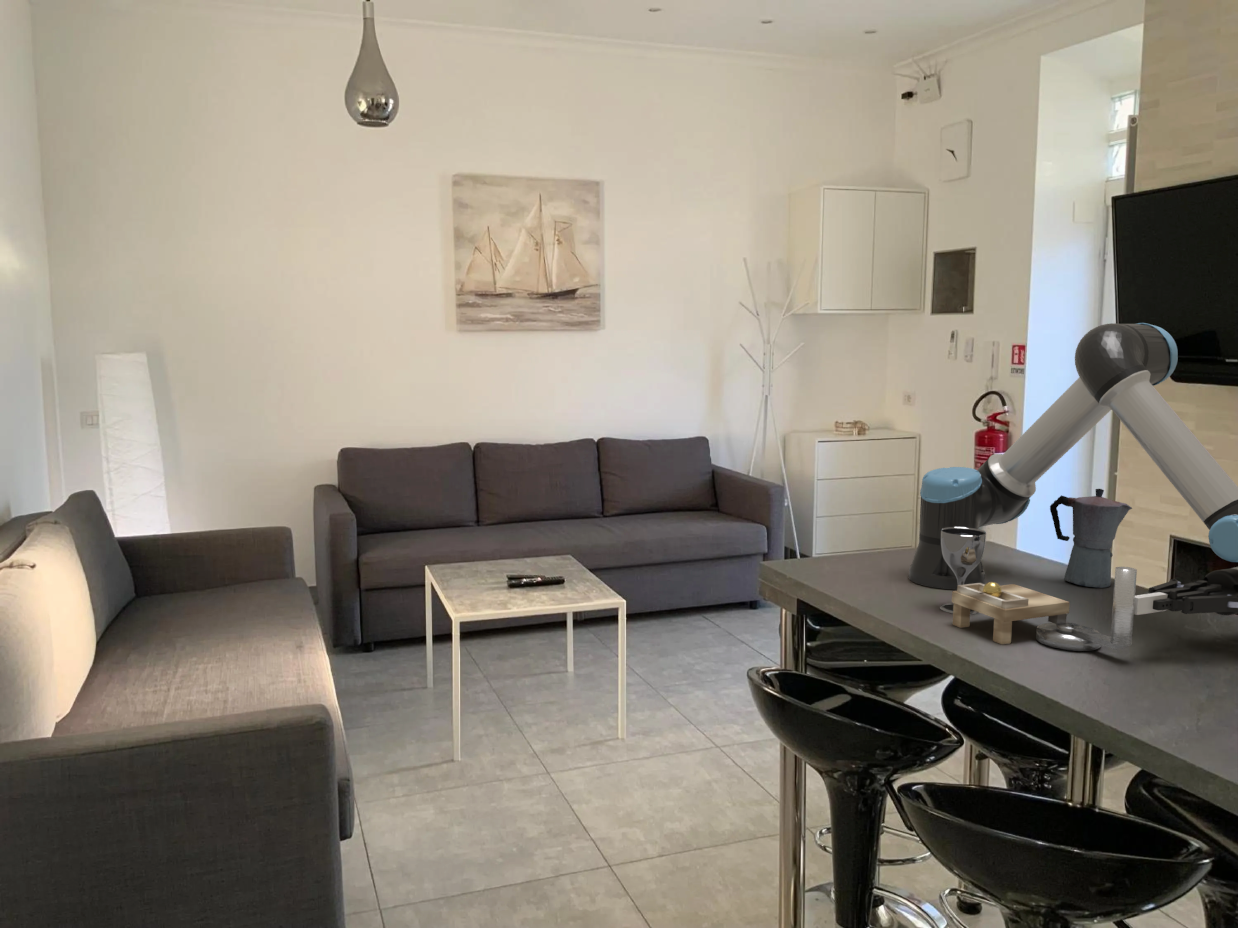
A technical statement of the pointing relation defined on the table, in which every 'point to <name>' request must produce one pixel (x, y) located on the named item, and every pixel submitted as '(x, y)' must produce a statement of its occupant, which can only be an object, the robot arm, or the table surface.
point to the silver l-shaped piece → (1090, 639)
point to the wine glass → (962, 553)
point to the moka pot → (1090, 537)
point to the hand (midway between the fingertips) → (1133, 605)
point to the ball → (992, 589)
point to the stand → (1006, 607)
